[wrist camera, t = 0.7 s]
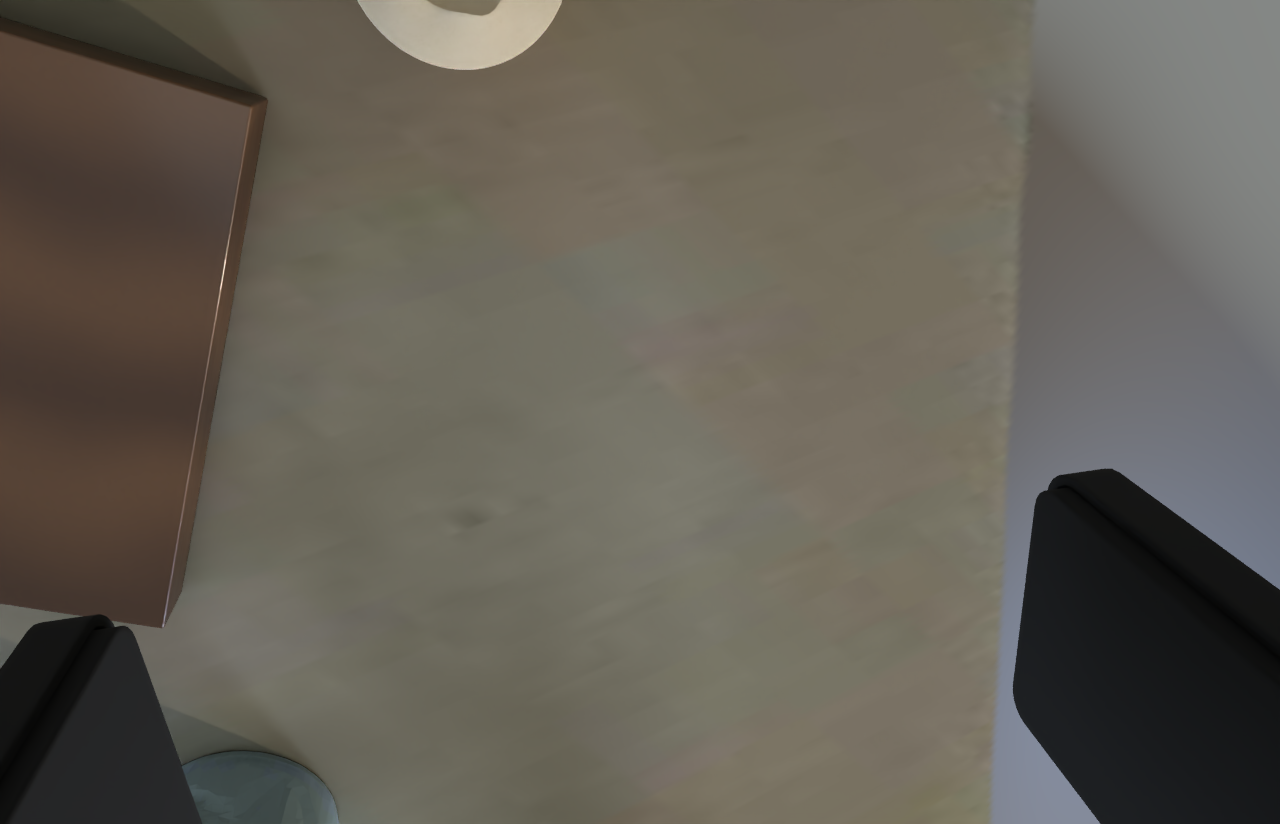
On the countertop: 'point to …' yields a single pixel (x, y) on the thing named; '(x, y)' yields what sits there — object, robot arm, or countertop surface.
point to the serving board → (111, 316)
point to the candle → (461, 28)
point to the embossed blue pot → (257, 790)
